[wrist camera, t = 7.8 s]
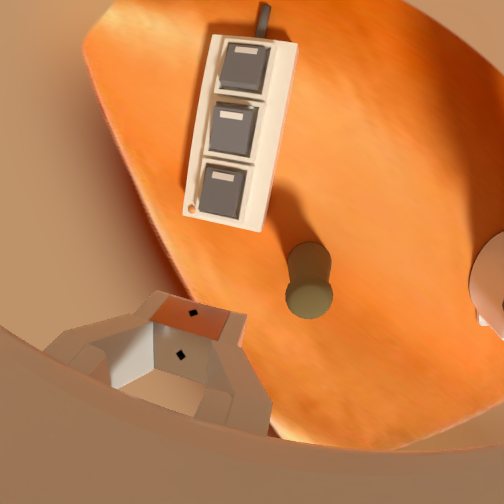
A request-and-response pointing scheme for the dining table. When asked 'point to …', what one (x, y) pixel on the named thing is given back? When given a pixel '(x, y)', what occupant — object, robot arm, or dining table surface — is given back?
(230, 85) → the rocker
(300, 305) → the cork
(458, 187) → the dining table surface
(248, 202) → the switch strip
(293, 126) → the dining table surface
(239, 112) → the rocker
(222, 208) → the rocker
